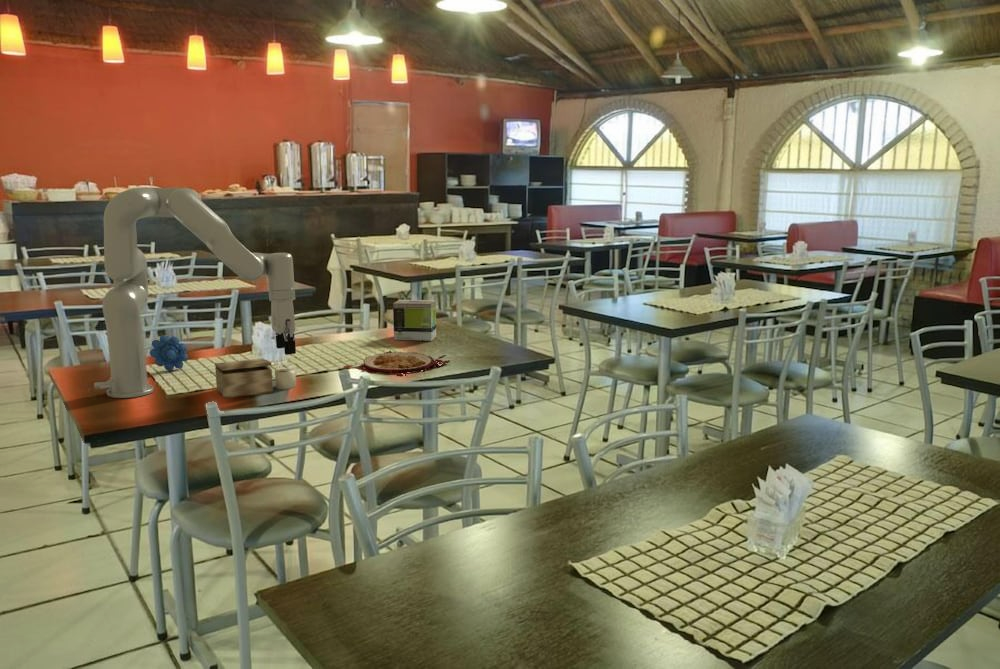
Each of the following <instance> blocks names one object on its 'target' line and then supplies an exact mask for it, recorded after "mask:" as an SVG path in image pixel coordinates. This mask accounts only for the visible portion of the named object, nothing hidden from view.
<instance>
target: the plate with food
mask: <svg viewBox="0 0 1000 669" xmlns="http://www.w3.org/2000/svg"><path fill="white" fill-rule="evenodd" d="M446 356H447V355H446V354H442V355H441V356H439V357H438V358H437V359H434V358H433V357H432V356H431V355H426V354H424V353H423V354H422V353H420V352H419V353H418V352H412V351H411V352H410V351H407V352H406V351H404V352H403V351H398V352H397V351H391V350H388V351H386V352H384V353H378V354H375V355H371V356H369V355H368V356H366V357H365V358H364V359H363V362H364V363H363V362H362V363H363V364H364V365H363V364H362V365H361V366H360V365H359V366H356V367H355V365H354V364H349V365H343V368H345V369H347V370H348V369H349V370H351V369H352V368H354V369H356V370H359V371H362V372H364V373H365V372H367V373H370V374H374V373H375V374H377V373H376V372H380V374H389V373H403V374H405V376H406V374H409V373H407V372H411V373H412V372H413V371H417V372H419V370H420V371H421V370H425V369H429V370H430V371H431V367H432V368H435V367H438V368H440V367H439V365H437V363H438V362H439V364H442V363H443V364H442V366H444V365H445V364H448V363H450V359H449V360H444V361H443V360H442V359H443V358H444V357H446ZM434 360H435V361H434ZM436 361H437V362H436ZM441 362H442V363H441ZM355 364H357V362H356V363H355ZM431 365H432V366H431ZM429 370H428V371H429ZM425 371H426V370H425ZM413 373H414V372H413ZM397 375H398V376H401V374H397Z"/></svg>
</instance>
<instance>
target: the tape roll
mask: <svg viewBox="0 0 1000 669" xmlns="http://www.w3.org/2000/svg"><path fill="white" fill-rule="evenodd" d="M296 377H297V375H296V369H294V368H289V367H287V368H279V369H275V371H274V380H275V381H274V383H275V385H274V386H275V389H277V390H291V389H295V388H297V378H296Z"/></svg>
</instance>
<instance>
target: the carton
mask: <svg viewBox="0 0 1000 669" xmlns="http://www.w3.org/2000/svg"><path fill="white" fill-rule="evenodd" d="M214 368H215V382H216V383H215V384H216V390H217V392H219V394H220V395H221V397H222V398H223V399H228V398H229V399H230V398H239V397H245V396H254V395H262V394H270V393H274V391H273V390H274V387H273V369H272V368H271V367H270V366H260V367H250V368H241V369H232V370H223V371H222V370H221V369H219V368H218V367H216V366H215V367H214Z"/></svg>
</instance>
